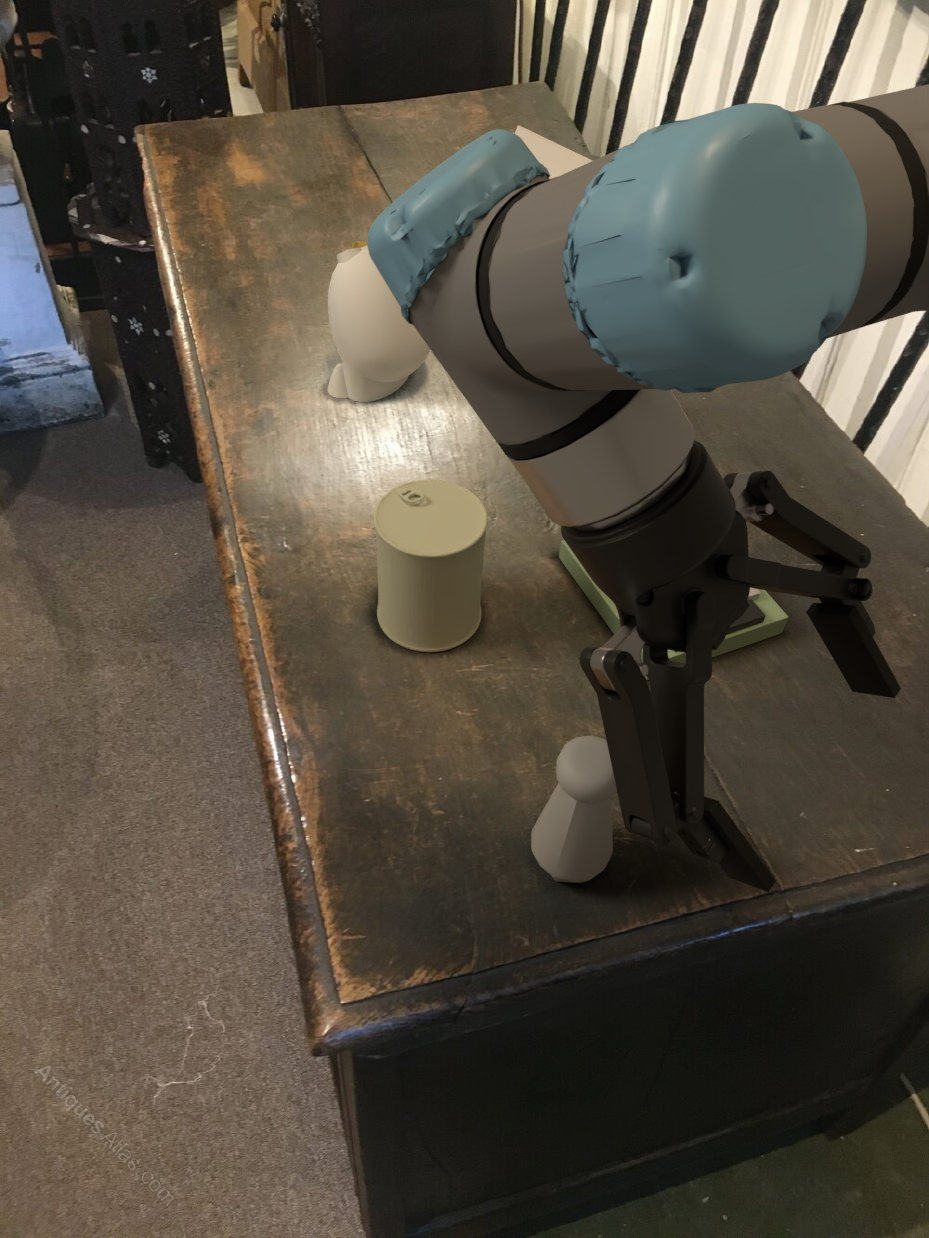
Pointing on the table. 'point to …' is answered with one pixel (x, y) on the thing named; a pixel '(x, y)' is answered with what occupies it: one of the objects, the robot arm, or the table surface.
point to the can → (429, 564)
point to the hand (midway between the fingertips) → (817, 780)
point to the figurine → (369, 332)
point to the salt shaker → (577, 813)
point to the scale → (749, 628)
